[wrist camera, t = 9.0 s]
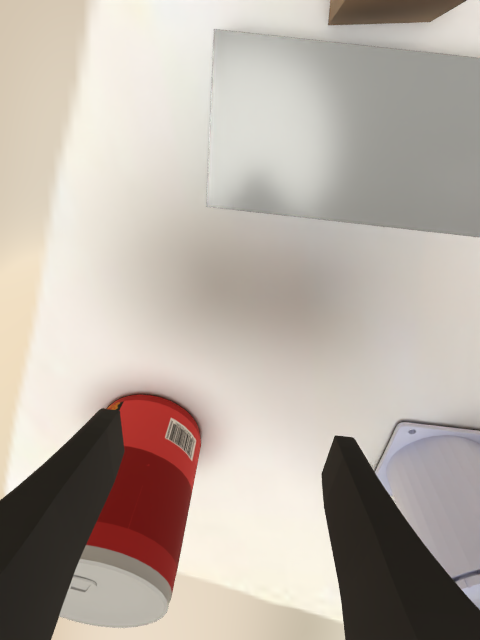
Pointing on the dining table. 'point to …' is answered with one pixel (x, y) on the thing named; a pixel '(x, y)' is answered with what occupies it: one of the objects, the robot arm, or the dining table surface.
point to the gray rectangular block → (345, 133)
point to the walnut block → (387, 11)
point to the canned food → (139, 519)
